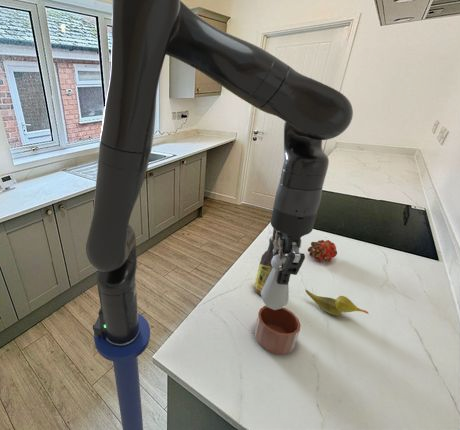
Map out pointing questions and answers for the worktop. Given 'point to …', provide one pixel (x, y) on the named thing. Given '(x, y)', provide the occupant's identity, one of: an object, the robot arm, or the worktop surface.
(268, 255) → the sauce bottle
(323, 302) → the yellow-green tapered piece
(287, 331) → the cup
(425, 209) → the worktop surface
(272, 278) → the salt shaker
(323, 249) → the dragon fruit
